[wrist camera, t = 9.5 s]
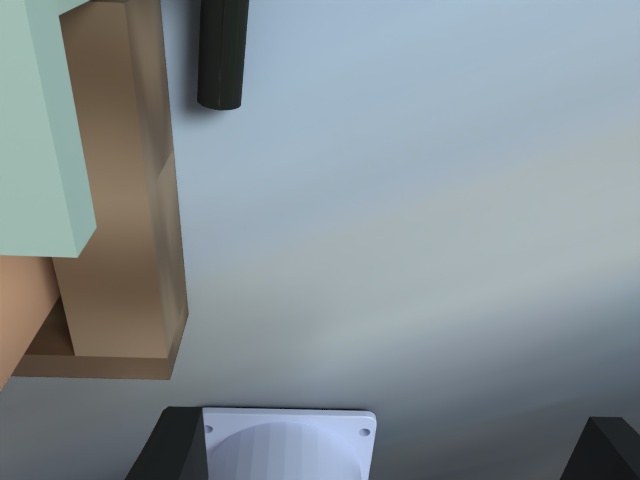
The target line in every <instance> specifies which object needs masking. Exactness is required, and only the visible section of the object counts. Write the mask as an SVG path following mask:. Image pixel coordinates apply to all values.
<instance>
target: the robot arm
mask: <svg viewBox="0 0 640 480" xmlns="http://www.w3.org/2000/svg"><path fill="white" fill-rule="evenodd" d="M205 425H208V426H205ZM376 425H377V423H376V416H375V415H374V413H372V412H369V411H347V410H301V409H255V408H209V407H207V408H202V407H172V406H169V407H167V408H166V409H165V410H163V412H162V414H161V416H160V418H159V420H158V422H157V424H156V426H155V428H154V430H153V431H152V433H151V435H150V437H149V439H148V441H147V442H146V444H145V446H144V448H143V450H142V451H141V453H140V455H139V457H138V458H137V460H136V462H135V463H134V465H133V467H132V468H131V470H130V472H129V473H128V475H127V477H126V478H125V480H368V476H369V470H370V464H371V457H372V451H373V444H374V438H375V432H376ZM560 480H640V435H639V434H638V433H637V432H636V431H635V430H634V429H633V428H632V427H631V426H630V425H629V424H628V423H627V422H626V421H625V420H624V419H623V418H622V417H589V419H588V421H587V423H586V425H585V428H584V430H583V432H582V434H581V436H580V438H579V440H578V442H577V444H576V447H575V449H574V451H573V453H572V455H571V457H570V459H569V461H568V463H567V466H566V468H565V470H564V472H563V474H562V476H561V478H560Z"/></svg>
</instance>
